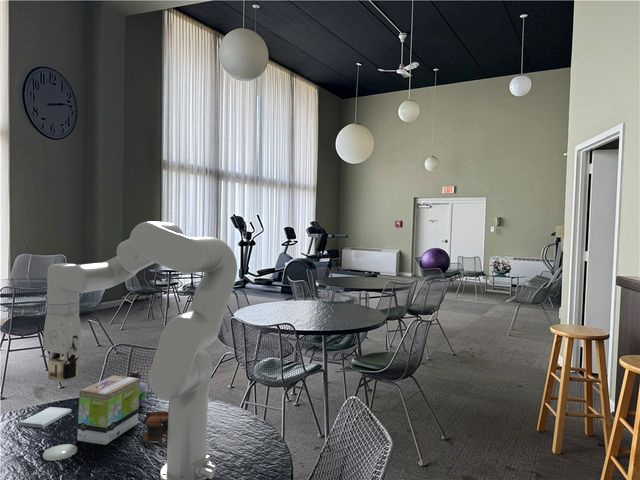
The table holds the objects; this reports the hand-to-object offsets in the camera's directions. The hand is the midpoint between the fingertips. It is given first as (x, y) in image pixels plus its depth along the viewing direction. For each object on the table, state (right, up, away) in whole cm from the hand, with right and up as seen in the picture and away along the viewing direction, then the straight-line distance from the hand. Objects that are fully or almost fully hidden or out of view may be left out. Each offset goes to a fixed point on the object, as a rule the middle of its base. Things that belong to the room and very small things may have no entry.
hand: (63, 375), depth 121 cm
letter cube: (0, -1, 0) cm, 1 cm away
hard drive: (-17, -21, +21) cm, 34 cm away
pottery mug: (+22, -22, +11) cm, 33 cm away
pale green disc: (0, -21, -1) cm, 21 cm away
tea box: (+7, -21, +13) cm, 25 cm away
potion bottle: (+6, -21, +32) cm, 39 cm away
